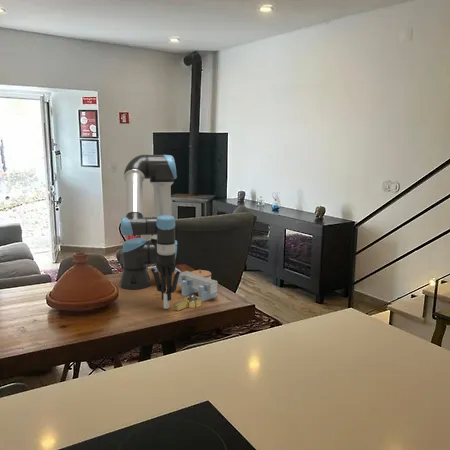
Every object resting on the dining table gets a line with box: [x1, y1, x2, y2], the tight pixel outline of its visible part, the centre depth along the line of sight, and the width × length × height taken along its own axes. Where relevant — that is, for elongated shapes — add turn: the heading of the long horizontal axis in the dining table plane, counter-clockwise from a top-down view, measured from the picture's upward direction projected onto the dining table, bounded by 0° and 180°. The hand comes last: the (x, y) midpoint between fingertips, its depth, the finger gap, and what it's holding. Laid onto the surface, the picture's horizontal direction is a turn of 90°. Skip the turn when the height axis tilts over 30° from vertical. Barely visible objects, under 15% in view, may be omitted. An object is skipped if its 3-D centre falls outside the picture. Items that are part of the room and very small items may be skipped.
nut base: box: [188, 293, 197, 301], centre depth 191 cm, size 9×9×6 cm
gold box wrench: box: [173, 295, 202, 311], centre depth 189 cm, size 13×8×3 cm, turn 138°
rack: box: [181, 280, 217, 303], centre depth 202 cm, size 15×10×8 cm, turn 48°
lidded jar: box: [191, 269, 212, 279], centre depth 216 cm, size 11×11×9 cm
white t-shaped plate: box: [177, 270, 218, 294], centre depth 202 cm, size 21×7×5 cm, turn 48°
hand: (166, 307), depth 186 cm, fingers closed
